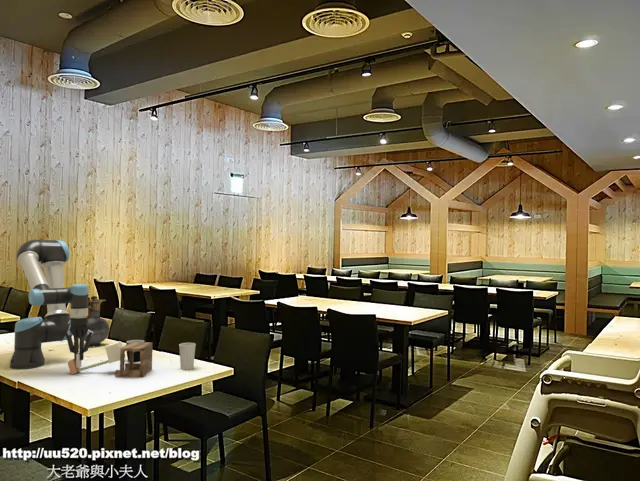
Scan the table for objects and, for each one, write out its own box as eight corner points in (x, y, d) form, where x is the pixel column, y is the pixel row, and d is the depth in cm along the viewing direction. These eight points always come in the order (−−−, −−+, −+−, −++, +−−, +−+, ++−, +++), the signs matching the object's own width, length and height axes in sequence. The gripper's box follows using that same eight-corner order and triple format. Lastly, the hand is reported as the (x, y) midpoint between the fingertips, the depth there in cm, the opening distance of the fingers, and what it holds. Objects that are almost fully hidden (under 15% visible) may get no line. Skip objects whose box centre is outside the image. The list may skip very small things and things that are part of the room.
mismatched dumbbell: (70, 374, 235) (66, 358, 235) (75, 371, 241) (70, 355, 240) (122, 359, 238) (117, 343, 237) (125, 356, 244) (121, 340, 243)
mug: (128, 363, 259) (128, 343, 259) (123, 360, 266) (124, 340, 267) (151, 360, 266) (152, 341, 266) (147, 357, 273) (147, 338, 273)
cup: (180, 370, 246) (181, 346, 246) (177, 367, 253) (177, 343, 253) (196, 369, 249) (197, 345, 249) (193, 365, 256) (193, 342, 256)
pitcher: (111, 345, 305) (112, 295, 305) (80, 349, 290) (81, 297, 291) (102, 342, 312) (103, 294, 312) (71, 347, 297) (72, 296, 297)
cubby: (115, 377, 232) (116, 348, 232) (125, 369, 247) (126, 342, 247) (142, 377, 232) (143, 348, 233) (151, 369, 247) (152, 342, 248)
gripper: (61, 318, 234) (61, 369, 234) (90, 318, 235) (89, 368, 235) (68, 316, 242) (68, 365, 241) (96, 316, 243) (95, 365, 242)
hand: (78, 367), depth 238 cm, fingers closed
